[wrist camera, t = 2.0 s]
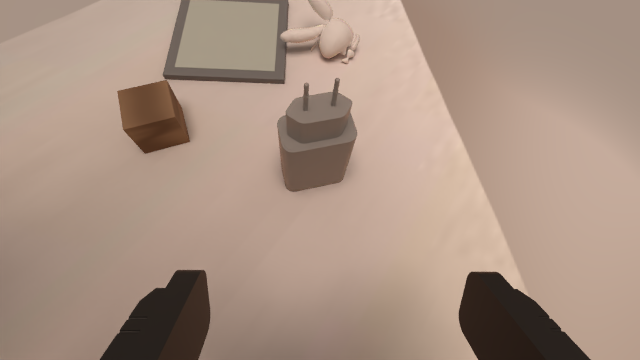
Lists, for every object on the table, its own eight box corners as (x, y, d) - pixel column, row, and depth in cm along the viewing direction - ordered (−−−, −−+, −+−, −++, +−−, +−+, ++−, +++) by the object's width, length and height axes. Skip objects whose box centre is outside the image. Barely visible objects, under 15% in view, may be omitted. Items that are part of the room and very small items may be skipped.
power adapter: (280, 162, 29) (269, 67, 18) (336, 151, 30) (359, 54, 19) (287, 193, 28) (280, 111, 17) (345, 180, 29) (375, 95, 18)
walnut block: (145, 153, 29) (123, 129, 25) (139, 118, 30) (117, 91, 27) (190, 142, 30) (175, 116, 26) (182, 108, 31) (166, 80, 27)
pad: (165, 78, 32) (162, 74, 32) (184, -2, 37) (182, -8, 37) (284, 83, 33) (284, 79, 32) (288, 3, 38) (288, -2, 37)
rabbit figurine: (342, 80, 34) (277, 34, 31) (333, 79, 37) (274, 37, 35) (374, 29, 33) (309, -24, 30) (361, 32, 36) (302, -14, 34)
